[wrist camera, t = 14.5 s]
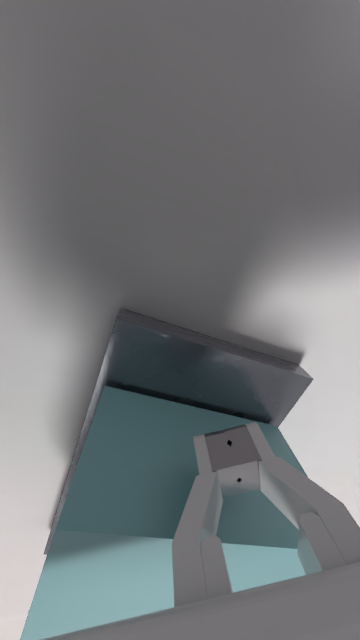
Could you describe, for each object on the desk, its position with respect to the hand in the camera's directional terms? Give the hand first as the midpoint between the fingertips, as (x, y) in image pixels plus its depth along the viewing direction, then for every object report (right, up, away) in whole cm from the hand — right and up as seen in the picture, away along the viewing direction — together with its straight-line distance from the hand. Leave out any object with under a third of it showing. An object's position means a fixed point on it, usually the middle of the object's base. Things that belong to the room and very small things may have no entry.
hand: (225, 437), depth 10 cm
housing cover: (-3, -6, +6) cm, 9 cm away
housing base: (-4, -6, +8) cm, 11 cm away
